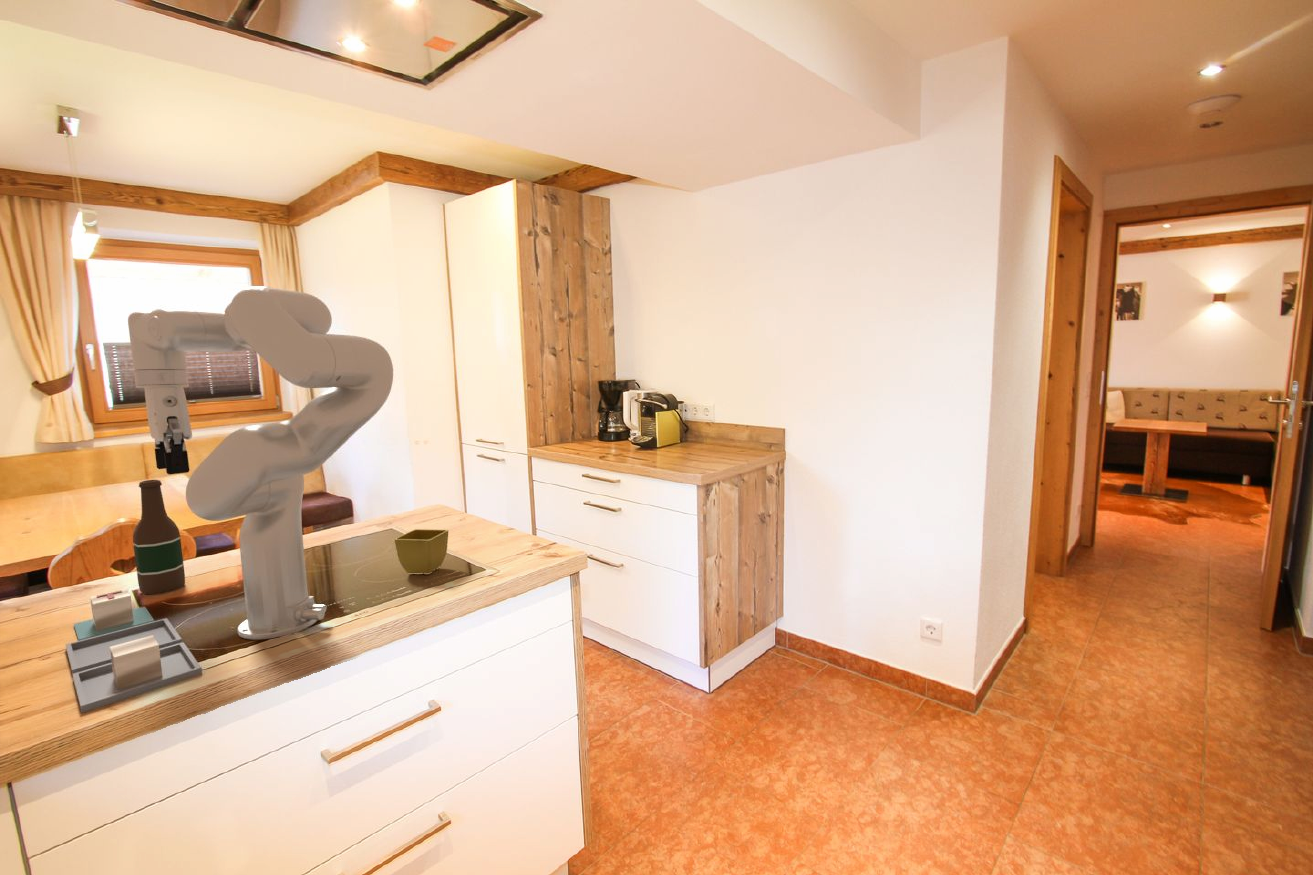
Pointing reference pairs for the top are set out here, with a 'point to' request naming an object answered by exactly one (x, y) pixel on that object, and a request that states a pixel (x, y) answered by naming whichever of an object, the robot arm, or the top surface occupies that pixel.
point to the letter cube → (111, 609)
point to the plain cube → (135, 661)
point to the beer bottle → (157, 544)
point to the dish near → (102, 689)
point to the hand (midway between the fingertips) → (172, 470)
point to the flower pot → (422, 550)
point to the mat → (89, 630)
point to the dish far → (117, 643)
